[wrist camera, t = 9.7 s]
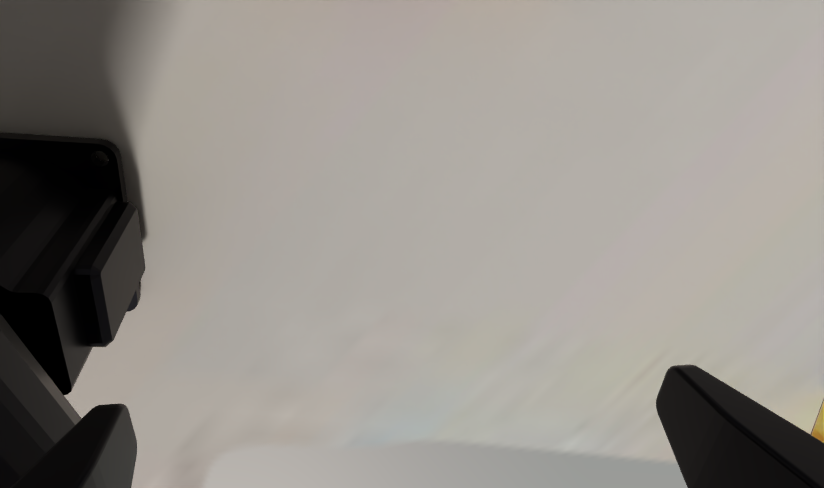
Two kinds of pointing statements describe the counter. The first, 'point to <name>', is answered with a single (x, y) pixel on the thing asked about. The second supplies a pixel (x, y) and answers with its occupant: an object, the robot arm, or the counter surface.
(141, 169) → the counter surface
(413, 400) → the counter surface
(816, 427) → the blue cardboard box
